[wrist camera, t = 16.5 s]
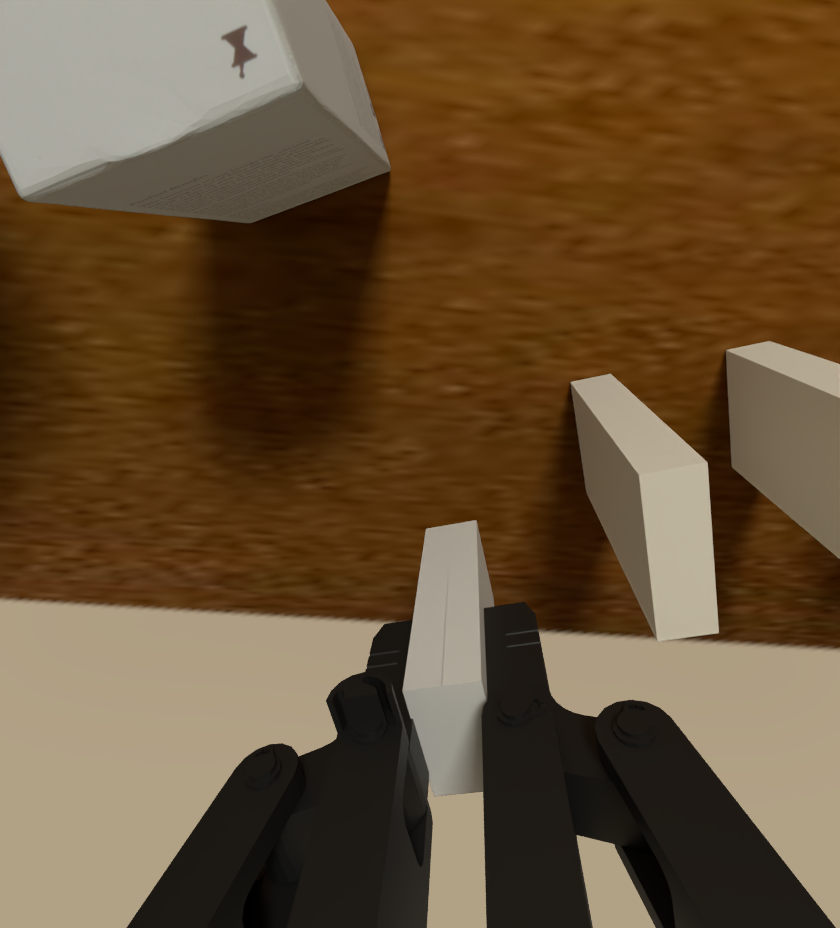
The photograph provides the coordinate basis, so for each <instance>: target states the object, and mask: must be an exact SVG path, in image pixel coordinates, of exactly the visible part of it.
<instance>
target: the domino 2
mask: <svg viewBox="0 0 840 928" xmlns="http://www.w3.org/2000/svg"><path fill="white" fill-rule="evenodd" d="M726 365H727V385H728V404H729V424H730V444H731V464H732V468H733V469H734V470H735V471H737V472H738V473H739V474H740V475H741V476H743V477H744V478H745V479H746V480H747V481H748V482H750V483H751V484H752V485H753V486H754V487H755V488H757V489H758V490H759V491H760V492H761V493H763V494H764V495H765V496H766V497H767V498H768V499H770V500H771V501H772V502H773V503H774V504H775V505H777V506H778V507H779V508H780V509H781V510H782V511H784V512H785V513H786V514H787V515H788V516H790V517H791V518H792V519H793V520H794V521H795V522H797V523H798V524H799V525H800V526H801V527H802V528H804V529H805V530H806V531H807V532H808V533H810V534H811V535H812V536H813V537H814V538H815V539H817V540H818V541H819V542H820V543H821V544H822V545H824V546H825V547H826V548H827V549H828V550H830V551H831V552H832V553H833V554H834V555H835V556H837V557H838V558H839V559H840V364H837V363H834V362H831V361H828V360H825V359H822V358H819V357H816V356H813V355H810V354H807V353H804V352H801V351H798V350H795V349H792V348H789V347H786V346H783V345H780V344H777V343H774V342H770V341H768V342H763V343H758V344H753V345H748V346H743V347H738V348H734V349H729V350H726Z"/></svg>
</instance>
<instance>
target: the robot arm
mask: <svg viewBox="0 0 840 928" xmlns="http://www.w3.org/2000/svg"><path fill="white" fill-rule="evenodd" d="M326 702H327V705H328V707H329V710H330V713H331V716H332V719H333V721H334V724H335V727H336V730H337V733H338V734H337V738H336V740H334V741H333V742H331V743H330V744H328V745H326V746H324V747H322V748H319V749H317V750H314V751H312V752H309V753H306V754H304V755H301V756H299V757H298V755H297V753H296V752H295V750H294V749H293V748H292V747H291V746H288V745H285V744H270V745H267V746H265V747H262V748H260V749H258V750H256V751H254V752H253V753H251V754H250V755H248V756H247V757H246V758H245V759H244V760H243V761H242V762H241V763H240V764H239V765H238V766H237V767H236V769H235V770H234V772H233V773H232V775H231V776H230V777H229V779H228V780H227V782H226V783H225V785H224V786H223V788H222V789H221V791H220V792H219V793H218V795H217V796H216V798H215V799H214V801H213V802H212V804H211V805H210V807H209V808H208V810H207V811H206V812H205V814H204V815H203V817H202V819H201V820H200V822H199V823H198V824H197V826H196V827H195V829H194V830H193V832H192V833H191V834H190V836H189V838H188V839H187V840H186V842H185V843H184V845H183V846H182V848H181V849H180V851H179V852H178V853H177V855H176V856H175V858H174V859H173V861H172V862H171V864H170V865H169V867H168V868H167V870H166V871H165V872H164V874H163V876H162V877H161V878H160V880H159V881H158V883H157V884H156V886H155V887H154V889H153V890H152V892H151V893H150V894H149V896H148V897H147V899H146V901H145V902H144V903H143V905H142V906H141V908H140V909H139V910H138V912H137V913H136V915H135V916H134V918H133V920H132V921H131V922H130V924H129V925H128V927H127V928H427V912H428V894H429V877H430V858H431V843H432V825H433V822H432V815H431V810H430V807H429V803H428V800H427V797H428V783H429V781H430V785H431V788H432V791H433V795H434V796H443V795H452V794H463V793H474V792H483V795H484V796H483V797H484V837H485V877H486V915H487V916H486V917H487V928H593V927H592V921H591V916H590V910H589V904H588V899H587V893H586V888H585V882H584V877H583V872H582V866H581V860H580V855H579V849H578V844H577V836H576V835H580V836H584V837H588V838H592V839H596V840H600V841H604V842H609V843H613V844H615V848H616V850H617V852H618V854H619V856H620V858H621V860H622V862H623V864H624V866H625V868H626V870H627V872H628V874H629V876H630V878H631V880H632V882H633V884H634V886H635V887H636V889H637V891H638V893H639V895H640V897H641V899H642V901H643V903H644V905H645V907H646V909H647V911H648V913H649V915H650V917H651V919H652V921H653V923H654V925H655V927H656V928H835V926H834V925H833V924H832V922H831V921H830V920H829V919H828V918H827V916H826V915H825V914H824V912H823V911H822V910H821V908H820V907H819V906H818V905H817V903H816V902H815V901H814V900H813V898H812V897H811V896H810V894H809V893H808V892H807V891H806V889H805V888H804V887H803V886H802V884H801V883H800V882H799V880H798V879H797V878H796V877H795V875H794V874H793V873H792V871H791V870H790V869H789V868H788V866H787V865H786V864H785V862H784V861H783V860H782V859H781V857H780V856H779V855H778V853H777V852H776V851H775V850H774V848H773V847H772V846H771V845H770V843H769V842H768V841H767V839H766V838H765V837H764V836H763V835H762V833H761V832H760V831H759V829H758V828H757V827H756V826H755V824H754V823H753V822H752V821H751V819H750V818H749V816H748V815H747V814H746V813H745V812H744V810H743V809H742V808H741V806H740V805H739V804H738V802H737V801H736V800H735V799H734V797H733V796H732V795H731V794H730V792H729V791H728V790H727V788H726V787H725V786H724V785H723V783H722V782H721V781H720V779H719V778H718V777H717V776H716V774H715V773H714V772H713V771H712V769H711V768H710V767H709V765H708V764H707V763H706V762H705V760H704V759H703V758H702V757H701V755H700V754H699V753H698V751H697V750H696V749H695V748H694V746H693V745H692V744H691V743H690V741H689V740H688V739H687V737H686V736H685V735H684V734H683V732H682V731H681V730H680V728H679V727H678V726H677V725H676V723H675V722H674V721H673V720H672V718H671V717H670V716H669V715H667V714H666V713H665V712H664V711H663V710H662V709H660V708H659V707H656V706H654V705H652V704H650V703H647V702H643V701H635V700H628V701H621V702H616V703H614V704H612V705H610V706H608V707H606V708H604V710H603V711H602V712H601V713H600V714H599V716H598V717H592V716H584V715H581V714H577V713H573V712H571V711H569V710H566V709H565V708H563V707H562V706H560V705H559V704H558V703H557V702H556V701H555V700H554V699H553V697H552V696H551V693H550V691H549V685H548V680H547V674H546V669H545V663H544V658H543V653H542V647H541V642H540V637H539V632H538V627H537V621H536V616H535V613H534V612H533V611H532V610H531V609H530V608H529V607H528V606H527V605H526V604H525V602H521V603H514V604H508V605H501V606H494V599H493V594H492V590H491V585H490V580H489V576H488V571H487V567H486V562H485V557H484V553H483V548H482V544H481V539H480V534H479V530H478V525H477V521H476V520H475V521H469V522H463V523H457V524H451V525H446V526H440V527H434V528H428V529H426V533H425V540H424V546H423V553H422V560H421V567H420V574H419V581H418V588H417V595H416V601H415V608H414V615H413V620H409V621H402V622H395V623H389V624H384V625H383V627H382V628H381V629H380V631H379V632H378V633H377V634H376V636H375V637H374V638H373V642H372V646H371V651H370V657H369V659H368V663H367V669H366V671H365V672H363V673H360V674H356V675H352V676H350V677H349V678H347V679H345V680H343V681H341V682H340V683H339V684H338V685H337V686H336V687H335V688H334V689H333V690H332V691H331V692H330V694H329V696H328V698H327V700H326Z"/></svg>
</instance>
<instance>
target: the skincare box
mask: <svg viewBox="0 0 840 928" xmlns="http://www.w3.org/2000/svg"><path fill="white" fill-rule="evenodd" d="M0 156H1V158H2V160H3V162H4V164H5V166H6V168H7V171H8V173H9V175H10V177H11V179H12V182H13V184H14V186H15V188H16V190H17V192H18V194H19V196H20V197H21V198H22V199H24V200H25V201H29V202H37V203H49V204H60V205H68V206H80V207H88V208H98V209H108V210H119V211H127V212H138V213H149V214H159V215H167V216H180V217H190V218H200V219H211V220H221V221H230V222H240V223H253V222H255V221H258V220H261V219H264V218H266V217H269V216H272V215H274V214H277V213H280V212H282V211H285V210H288V209H290V208H293V207H295V206H298V205H301V204H303V203H306V202H309V201H312V200H314V199H317V198H320V197H322V196H325V195H328V194H330V193H333V192H336V191H338V190H341V189H344V188H346V187H349V186H351V185H354V184H357V183H359V182H362V181H365V180H367V179H370V178H372V177H375V176H378V175H380V174H383V173H386V172H389V171H390V170H391V167H390V163H389V160H388V157H387V154H386V151H385V147H384V144H383V140H382V137H381V133H380V130H379V126H378V123H377V119H376V116H375V113H374V110H373V107H372V104H371V101H370V97H369V94H368V91H367V88H366V85H365V82H364V78H363V75H362V72H361V69H360V66H359V62H358V59H357V56H356V52H355V49H354V46H353V44H352V42H351V41H350V39H349V38H348V36H347V35H346V33H345V31H344V30H343V28H342V26H341V25H340V23H339V21H338V19H337V18H336V16H335V15H334V13H333V12H332V10H331V8H330V7H329V5H328V3H327V2H326V0H0Z"/></svg>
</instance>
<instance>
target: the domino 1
mask: <svg viewBox="0 0 840 928" xmlns="http://www.w3.org/2000/svg"><path fill="white" fill-rule="evenodd" d="M570 384H571V391H572V397H573V404H574V411H575V418H576V425H577V432H578V439H579V446H580V452H581V459H582V466H583V473H584V480H585V487H586V493H587V495H588V497H589V499H590V501H591V504H592V506H593V508H594V510H595V512H596V514H597V516H598V518H599V520H600V522H601V524H602V527H603V529H604V531H605V533H606V535H607V537H608V539H609V541H610V543H611V545H612V548H613V550H614V552H615V554H616V556H617V558H618V560H619V562H620V564H621V566H622V569H623V571H624V573H625V575H626V577H627V579H628V581H629V583H630V585H631V587H632V589H633V592H634V594H635V596H636V598H637V600H638V602H639V604H640V606H641V608H642V610H643V613H644V615H645V617H646V619H647V621H648V623H649V625H650V627H651V629H652V631H653V633H654V636H655V638H656V640H657V641H664V640H671V639H679V638H686V637H694V636H701V635H708V634H716V633H719V627H718V612H717V597H716V582H715V567H714V552H713V537H712V522H711V507H710V491H709V476H708V462H707V461H705V460H704V459H703V458H702V457H701V456H700V455H699V454H698V453H697V452H696V451H694V450H693V449H692V448H691V447H690V446H689V445H688V444H687V443H686V442H685V441H684V440H682V439H681V438H680V437H679V436H678V435H677V434H676V433H675V432H674V431H673V430H672V429H670V428H669V427H668V426H667V425H666V424H665V423H664V422H663V421H662V420H661V419H659V418H658V417H657V416H656V415H655V414H654V413H653V412H652V411H651V410H650V409H649V408H647V407H646V406H645V405H644V404H643V403H642V402H641V401H640V400H639V399H638V398H637V397H635V396H634V395H633V394H632V393H631V392H630V391H629V390H628V389H627V388H626V387H624V386H623V385H622V384H621V383H620V382H619V381H618V380H617V379H616V378H615V377H614V376H612V375H611V374H607V375H602V376H597V377H592V378H587V379H583V380H578V381H573V382H570Z"/></svg>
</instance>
